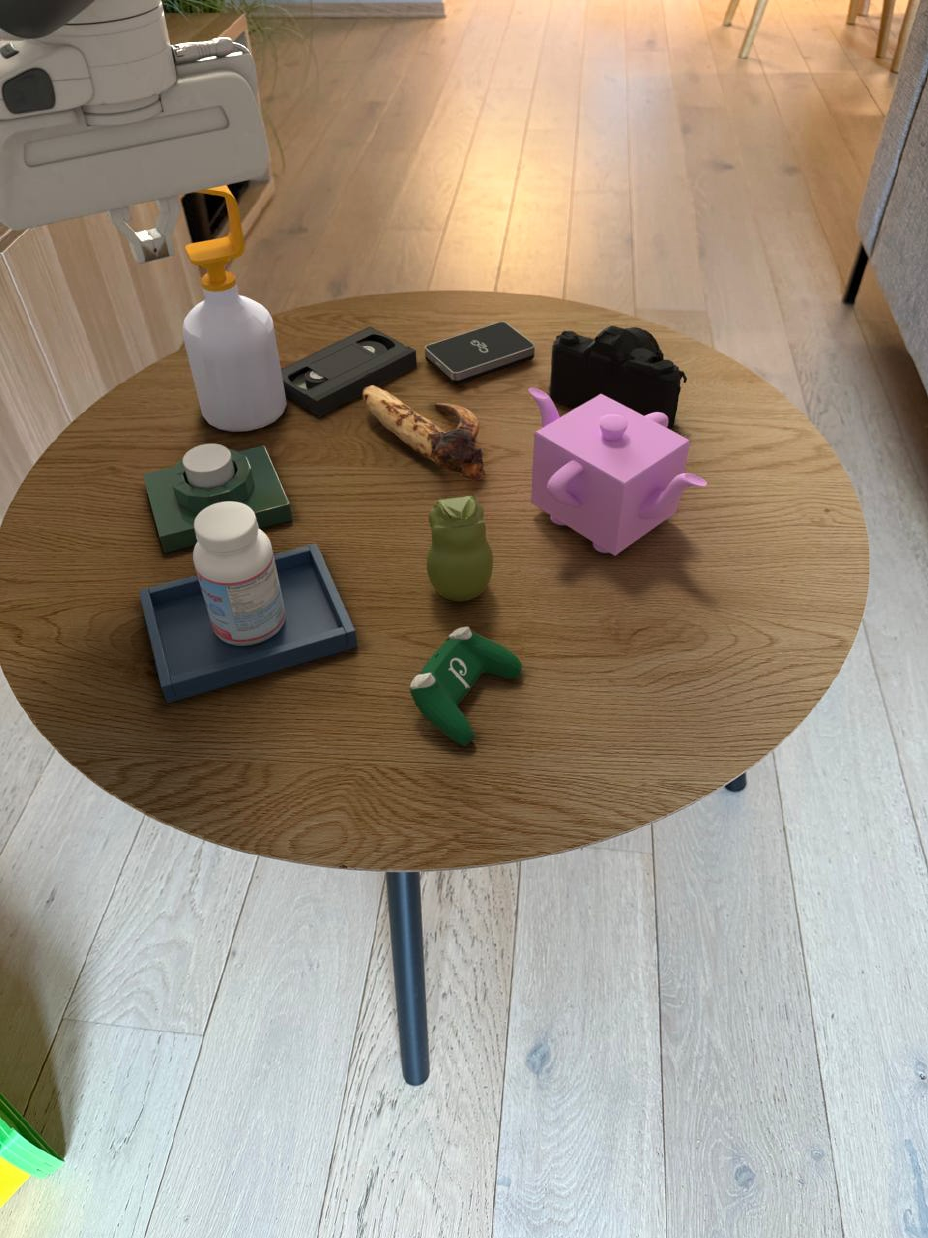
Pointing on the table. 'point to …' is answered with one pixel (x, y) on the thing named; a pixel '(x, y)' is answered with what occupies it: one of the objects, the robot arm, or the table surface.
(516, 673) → the gaming controller
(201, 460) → the white short cylinder
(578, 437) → the teapot
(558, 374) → the film camera
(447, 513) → the green figurine
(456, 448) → the bone fish hook
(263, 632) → the pill bottle
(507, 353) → the external hard drive
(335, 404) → the vhs tape
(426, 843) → the table surface
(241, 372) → the soap bottle
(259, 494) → the button base
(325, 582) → the dish
